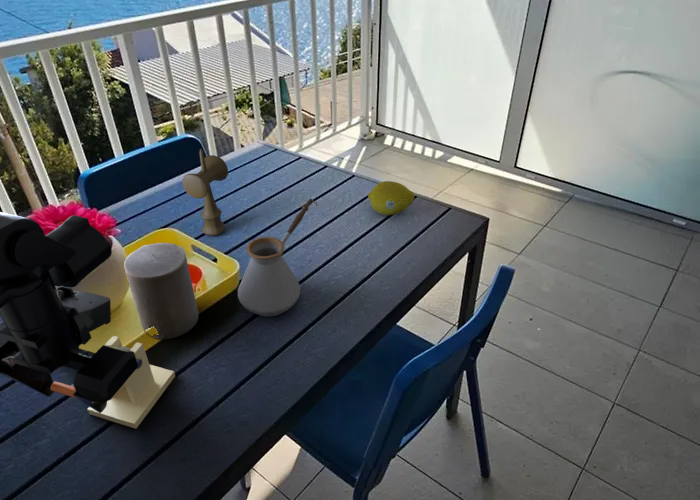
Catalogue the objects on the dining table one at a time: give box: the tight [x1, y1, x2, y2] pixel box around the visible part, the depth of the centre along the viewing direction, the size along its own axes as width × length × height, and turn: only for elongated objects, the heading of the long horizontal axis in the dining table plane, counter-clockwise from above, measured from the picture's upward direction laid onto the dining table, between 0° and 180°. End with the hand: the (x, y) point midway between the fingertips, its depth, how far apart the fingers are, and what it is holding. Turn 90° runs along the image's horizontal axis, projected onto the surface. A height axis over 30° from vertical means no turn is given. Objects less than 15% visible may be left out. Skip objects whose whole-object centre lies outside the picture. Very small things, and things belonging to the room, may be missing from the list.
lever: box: [50, 345, 132, 400], centre depth 68 cm, size 11×6×2 cm, turn 164°
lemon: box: [367, 180, 415, 216], centre depth 118 cm, size 11×8×8 cm
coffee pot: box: [237, 198, 318, 317], centre depth 93 cm, size 21×12×15 cm, turn 151°
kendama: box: [182, 148, 229, 237], centre depth 106 cm, size 6×10×20 cm, turn 164°
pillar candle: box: [123, 242, 199, 340], centre depth 85 cm, size 10×10×15 cm
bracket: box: [87, 335, 176, 430], centre depth 73 cm, size 10×8×10 cm
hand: (76, 401), depth 64 cm, fingers open, 8 cm apart
